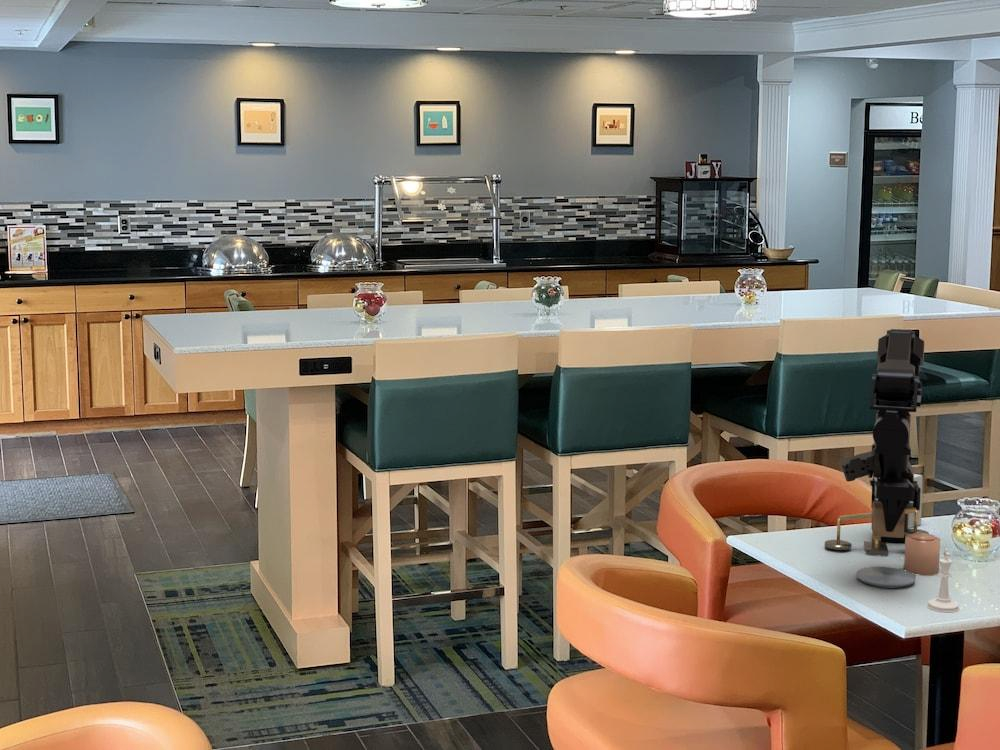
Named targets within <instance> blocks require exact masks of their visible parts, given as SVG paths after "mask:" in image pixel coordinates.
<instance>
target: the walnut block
mask: <svg viewBox="0 0 1000 750" xmlns="http://www.w3.org/2000/svg"><path fill="white" fill-rule="evenodd" d="M871 504H872V503H871ZM871 509H872V510H871V512H872V518H871V533H872V532H873V535H874V536H878V537H897V538H904V523H905V510H904V511H903V513H902V515H901V517H900V519H899V521H898V523H897V525H896V526H895V528H894V530H893V532H887V531H886V527H885V520H884V512H883V505H882V503H881V502H877V501H873V504H872V508H871Z"/></svg>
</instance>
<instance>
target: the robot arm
mask: <svg viewBox="0 0 1000 750" xmlns="http://www.w3.org/2000/svg"><path fill="white" fill-rule="evenodd" d="M877 341H878V342H877V355H876V358H877V368H876V373H872V377H871V388H870V401H869V410H870V411H877V412H876V413H875V415H876V416H875V424H874V427H873V430H872V438H873V441H874V442H873V444H871V450H870V451H867V452H862V453H859V454H856V455H851V456H848V457H845V458H842V459H841V460H839V463H840V466H841V469H842V472H843V474H844V478H845V481H846V482H853V481H855V480H856V479H860V478H863V477H866V476H867V477H868V479H869V478H872V480H869V483H870V486H871V505H870V506H871V507H870V508H871V509H872V504H873V501H877V502H881V503H882V505H883V512H884V520H885V527H886V531H887V532H893V530H894V528H895V526H896V525H897V523H898V521H899V519H900V517H901V515H902V513H903V511H904V510H905V508H914V507H915V508H916V510H920V493H921V489H920V488H919V486H918V484H917V481H914V474H915V469H914V467H913V466H912V465H911V464H912V463H911V462H910V461H909V459H910V458H909V457H910V456H911V454H912V453H911V447H910V439H911V438H910V437H911V436H910V435H911V423H912V422H911V421H912V420H911V417H912V415H911V413H917V410H918V409H917V408H921V404H922V403H921V401H922V389H923V384H922V383H923V382H921V381H920V377H919V375H920V367H924V360H925V359H924V358H925V356H924V355H925V340H923V339H921V337H919V336H917V335H916V331H914V330H912V329H901V328H900V329H898V328H891V329H888V330H887V329H886V334H885V335H883V336H881V337H880V338H878V340H877ZM912 403H913V405H912ZM876 499H878V500H876ZM910 501H912V502H913V503H910ZM908 518H909V514H905V523H904V529H909V528H908ZM905 538H906V537H904V538H897V537H881V542H891V543H905Z"/></svg>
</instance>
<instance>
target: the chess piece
mask: <svg viewBox="0 0 1000 750" xmlns="http://www.w3.org/2000/svg"><path fill="white" fill-rule="evenodd" d="M941 555H943V558H939V567H940V570H941V572H939V573H938V574H937V575H938V576H939V577H941V578H940V579H941V580H940V586H939V590H938V595H937V596H936V598H931V599H930V600H928V601H927V603H928V604H927V607H928V608H929V610H932V611H934V612H939V613H955V612H958V611H959V610H960V608H959V603H957V602H956V601H955V600H952V598H951V597H950V593H949V578H951V577H952V576H953V575H952V573H951V572H949V571H950V568H951V566H952V564H953V561H952V559H950V557H951V553H949V548H944V549H943V550H942V551H941ZM928 608H927V609H928Z"/></svg>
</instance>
